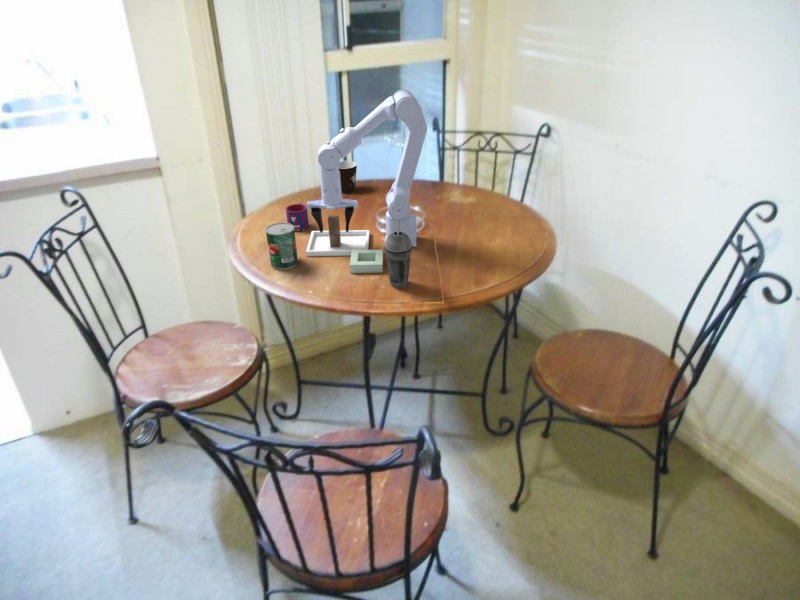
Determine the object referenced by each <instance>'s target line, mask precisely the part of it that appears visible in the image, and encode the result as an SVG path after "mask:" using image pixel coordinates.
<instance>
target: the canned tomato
mask: <svg viewBox="0 0 800 600" xmlns="http://www.w3.org/2000/svg"><path fill="white" fill-rule="evenodd" d="M295 233H296V232H295V231H294V226H293V225H292V224H289V223H287V222H277V223H272V224H269V225H268V226H267V227H266V228H265V234H266V241H267V247H268V255H269V259H270V260H269V262H270V266H271V267H272V268H273V267H274V268H273V269H275V268H276V270H288V269H291V268H294V267H295V266H298V263H299V258H298V249H297V242H296V234H295Z"/></svg>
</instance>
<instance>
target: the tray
mask: <svg viewBox="0 0 800 600" xmlns="http://www.w3.org/2000/svg"><path fill="white" fill-rule="evenodd" d="M340 237H341V246H340V247H330V238H329V230H323V232H320V230H311V232H310V236H309V240H308V243H307V247H306V250H305V256H306V257H337V256H341V257H342V256H343V257H344V256H345V257H346V256H349V257H351V251H352V250H369V242H370V229H355V230H353V229H352V230H350V229H349V231H348V232H346V229H345V230H341V229H340Z"/></svg>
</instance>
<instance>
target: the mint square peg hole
mask: <svg viewBox="0 0 800 600" xmlns="http://www.w3.org/2000/svg"><path fill="white" fill-rule="evenodd" d="M383 268H384V249H368V250H352V251H351V256H350V259H349V273H350V274H363V273H364V274H368V273H369V274H372V273H373V274H374V273H378V274H379V273H383V272H384V269H383Z"/></svg>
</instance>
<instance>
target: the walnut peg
mask: <svg viewBox="0 0 800 600" xmlns="http://www.w3.org/2000/svg"><path fill="white" fill-rule="evenodd" d="M327 226H328V231H329V238H330V247H340V246H341V237H340V231H341V228H340V226H341V225H340V215H338V214H337V215H328V218H327Z"/></svg>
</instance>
